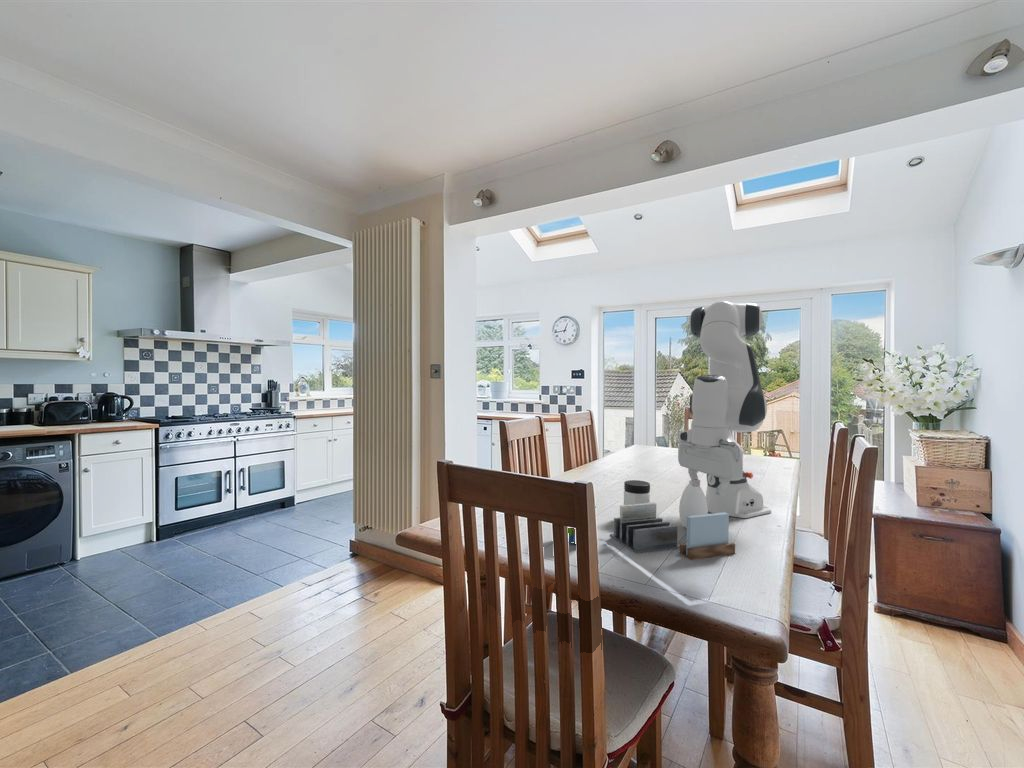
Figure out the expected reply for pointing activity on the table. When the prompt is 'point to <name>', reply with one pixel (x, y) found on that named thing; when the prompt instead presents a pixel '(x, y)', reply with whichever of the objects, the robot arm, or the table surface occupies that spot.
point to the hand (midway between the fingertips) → (707, 490)
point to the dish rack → (644, 529)
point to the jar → (636, 492)
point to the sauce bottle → (692, 503)
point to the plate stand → (707, 551)
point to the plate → (707, 530)
